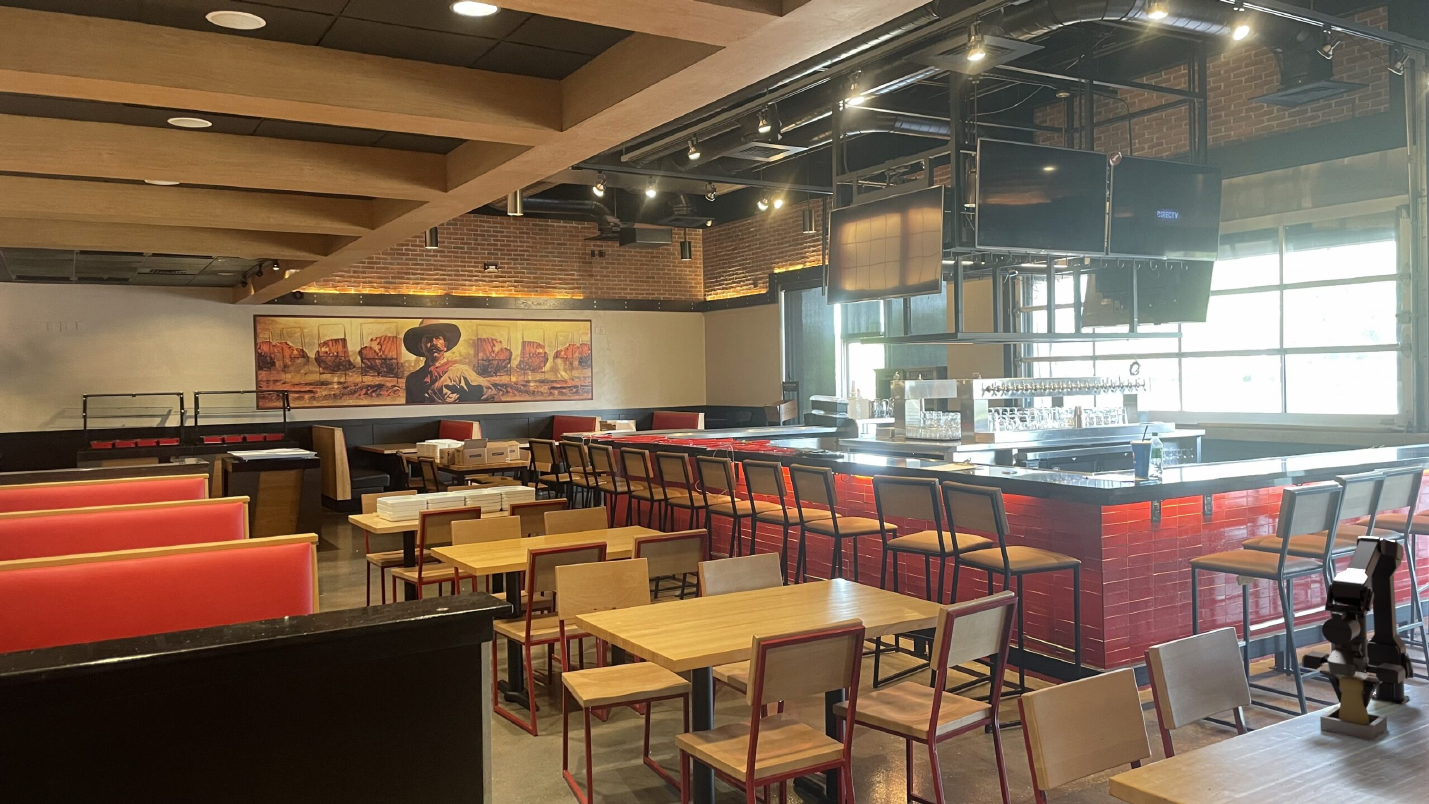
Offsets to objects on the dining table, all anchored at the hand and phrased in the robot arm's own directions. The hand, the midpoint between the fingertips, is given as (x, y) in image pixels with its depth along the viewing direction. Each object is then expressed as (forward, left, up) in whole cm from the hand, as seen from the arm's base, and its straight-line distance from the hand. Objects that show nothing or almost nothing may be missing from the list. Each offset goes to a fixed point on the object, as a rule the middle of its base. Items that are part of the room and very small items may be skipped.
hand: (1353, 704), depth 217 cm
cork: (0, 0, -5) cm, 5 cm away
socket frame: (0, 0, -6) cm, 6 cm away
